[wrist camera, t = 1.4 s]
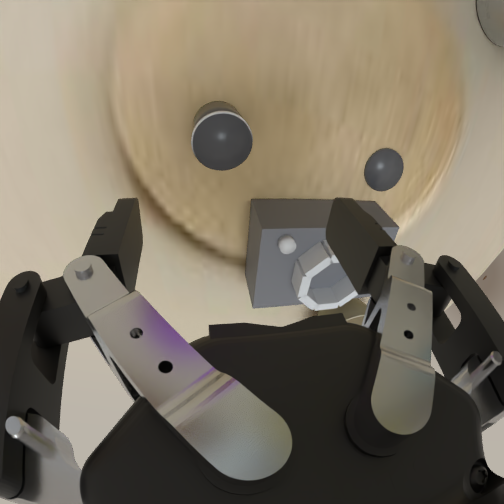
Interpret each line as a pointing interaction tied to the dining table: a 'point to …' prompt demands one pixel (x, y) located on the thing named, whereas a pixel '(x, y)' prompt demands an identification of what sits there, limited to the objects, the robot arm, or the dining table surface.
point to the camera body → (299, 254)
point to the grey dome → (383, 169)
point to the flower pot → (349, 311)
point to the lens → (220, 136)
